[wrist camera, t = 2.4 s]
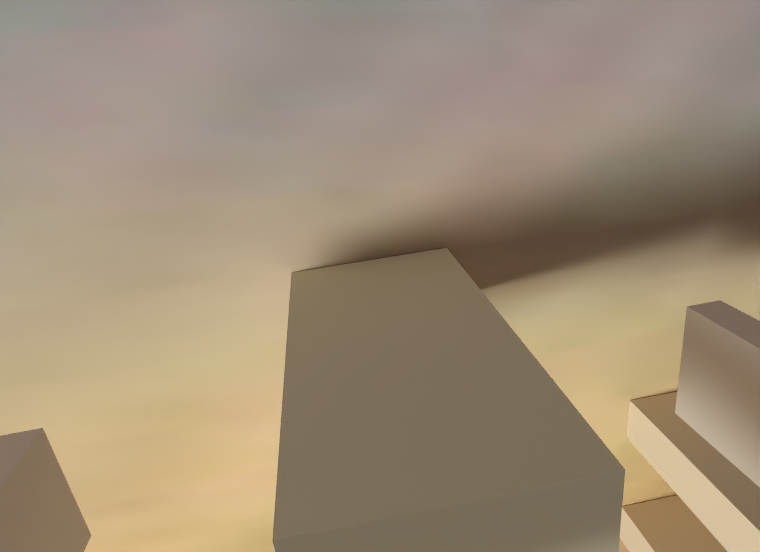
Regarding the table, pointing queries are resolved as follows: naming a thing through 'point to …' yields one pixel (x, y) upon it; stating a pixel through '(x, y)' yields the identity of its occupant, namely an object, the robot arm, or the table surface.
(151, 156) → the table surface
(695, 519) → the domino
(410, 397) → the domino
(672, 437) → the domino
